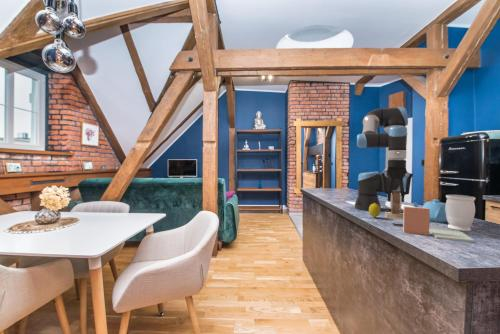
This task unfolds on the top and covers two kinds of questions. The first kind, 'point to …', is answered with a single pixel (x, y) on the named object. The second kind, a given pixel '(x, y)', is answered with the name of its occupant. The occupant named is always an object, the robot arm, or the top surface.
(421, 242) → the top surface
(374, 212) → the lemon
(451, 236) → the tool mat
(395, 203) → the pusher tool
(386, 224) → the top surface
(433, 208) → the teapot
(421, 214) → the tile
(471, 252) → the top surface
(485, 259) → the top surface
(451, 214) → the jar
